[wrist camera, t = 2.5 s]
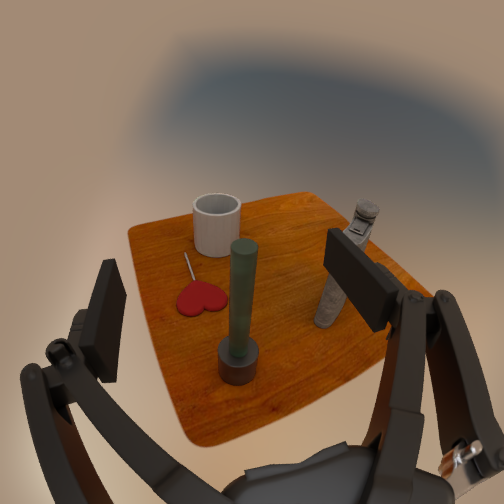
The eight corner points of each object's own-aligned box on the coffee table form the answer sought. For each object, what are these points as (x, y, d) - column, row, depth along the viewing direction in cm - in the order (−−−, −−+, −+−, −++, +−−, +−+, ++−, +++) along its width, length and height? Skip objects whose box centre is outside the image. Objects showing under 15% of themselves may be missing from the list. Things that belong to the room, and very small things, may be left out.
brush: (212, 376, 34) (202, 252, 22) (229, 349, 38) (231, 223, 26) (246, 391, 33) (260, 273, 21) (261, 363, 36) (282, 239, 24)
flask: (355, 278, 51) (384, 191, 40) (332, 333, 41) (372, 233, 30) (337, 271, 52) (362, 184, 41) (311, 323, 42) (342, 222, 31)
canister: (186, 248, 55) (182, 208, 49) (209, 227, 61) (209, 189, 56) (225, 263, 52) (226, 220, 47) (246, 238, 59) (249, 199, 53)
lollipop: (164, 259, 52) (180, 320, 41) (164, 255, 51) (179, 316, 41) (206, 251, 55) (231, 308, 44) (205, 248, 54) (231, 304, 43)
